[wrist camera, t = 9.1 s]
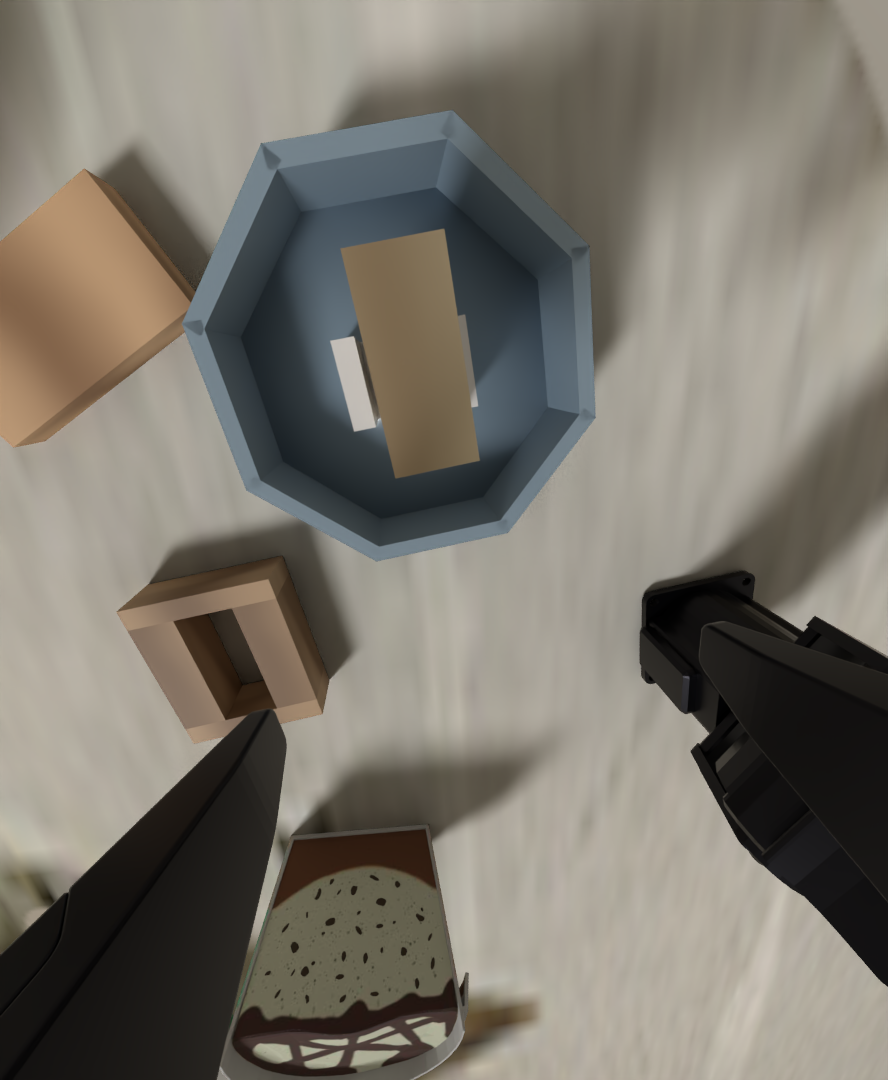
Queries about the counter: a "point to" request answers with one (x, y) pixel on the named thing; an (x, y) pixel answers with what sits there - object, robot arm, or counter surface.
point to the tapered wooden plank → (79, 307)
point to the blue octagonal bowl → (337, 348)
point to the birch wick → (414, 350)
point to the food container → (350, 965)
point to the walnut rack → (201, 660)
